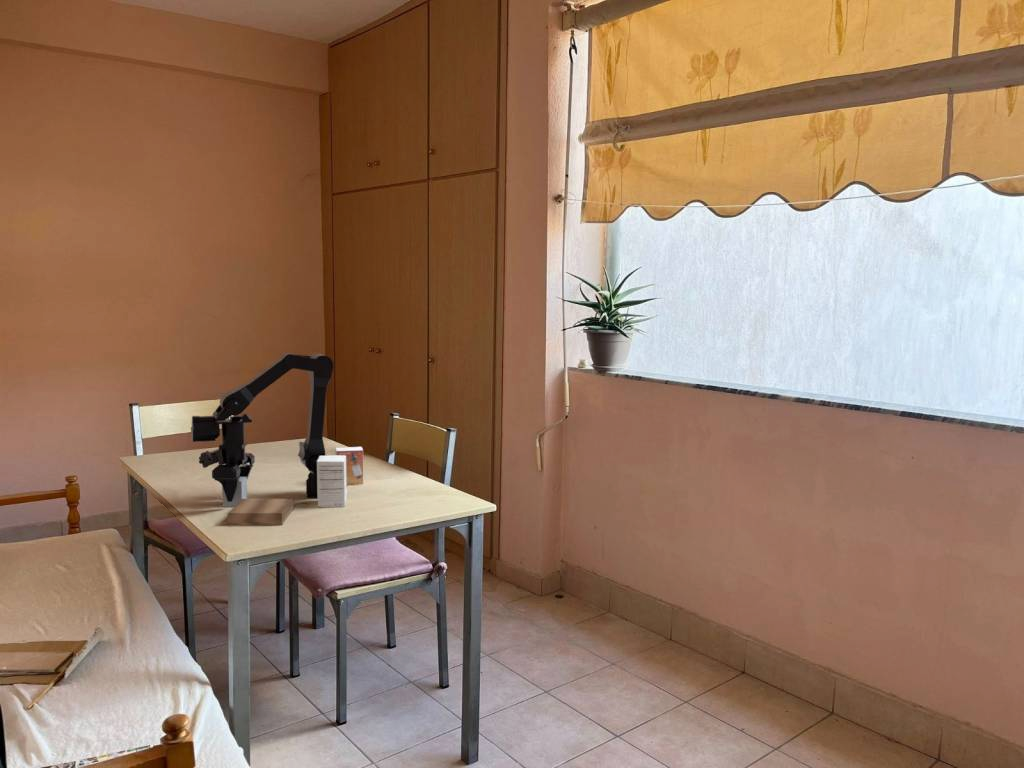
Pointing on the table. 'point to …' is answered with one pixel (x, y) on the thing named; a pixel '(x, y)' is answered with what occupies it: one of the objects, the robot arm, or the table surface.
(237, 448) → the robot arm
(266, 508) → the walnut base
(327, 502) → the supplement box
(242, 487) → the grey block
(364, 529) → the table surface
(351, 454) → the small box
